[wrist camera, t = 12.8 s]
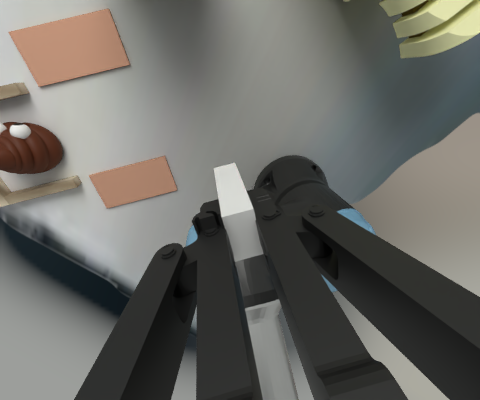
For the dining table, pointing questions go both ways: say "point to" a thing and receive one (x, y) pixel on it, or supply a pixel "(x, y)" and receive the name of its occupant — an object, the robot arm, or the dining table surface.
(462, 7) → the slatted curved stool
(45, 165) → the poop emoji
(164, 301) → the robot arm
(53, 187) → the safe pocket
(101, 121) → the dining table surface
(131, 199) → the pads
